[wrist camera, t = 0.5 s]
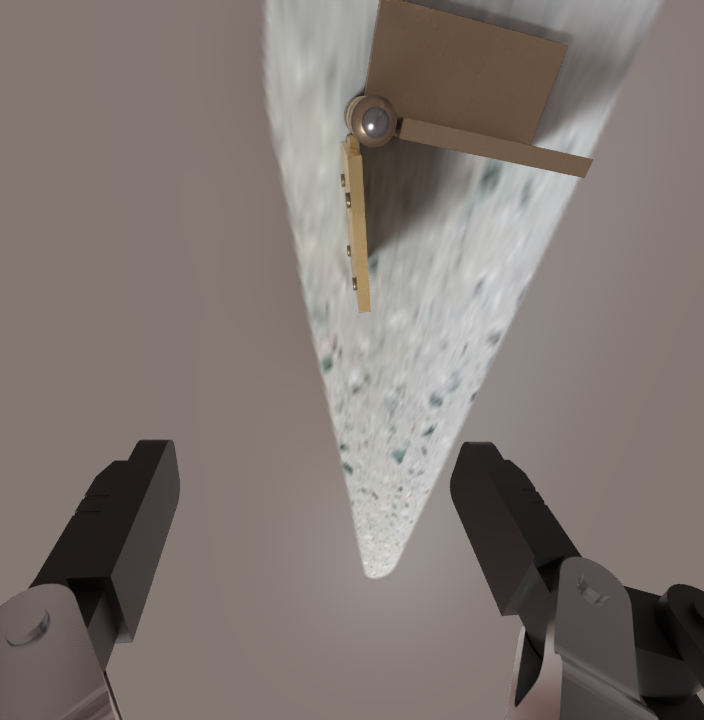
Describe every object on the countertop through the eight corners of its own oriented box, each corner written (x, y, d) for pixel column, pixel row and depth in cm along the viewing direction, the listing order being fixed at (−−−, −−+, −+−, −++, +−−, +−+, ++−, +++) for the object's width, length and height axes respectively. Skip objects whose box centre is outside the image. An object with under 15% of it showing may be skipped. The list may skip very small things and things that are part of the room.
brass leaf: (334, 98, 27) (338, 98, 20) (376, 94, 27) (396, 92, 20) (348, 266, 34) (355, 312, 27) (382, 263, 34) (398, 308, 27)
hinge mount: (361, -6, 25) (382, -61, 16) (559, 47, 27) (669, 23, 18) (341, 130, 29) (349, 144, 20) (513, 167, 31) (586, 193, 23)
